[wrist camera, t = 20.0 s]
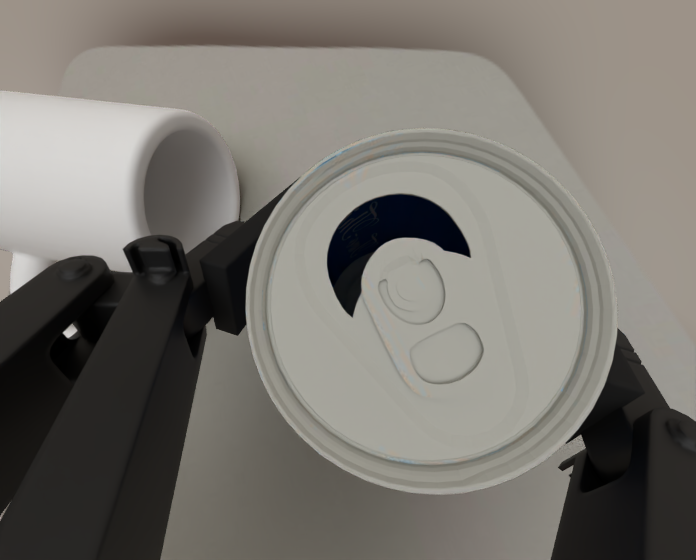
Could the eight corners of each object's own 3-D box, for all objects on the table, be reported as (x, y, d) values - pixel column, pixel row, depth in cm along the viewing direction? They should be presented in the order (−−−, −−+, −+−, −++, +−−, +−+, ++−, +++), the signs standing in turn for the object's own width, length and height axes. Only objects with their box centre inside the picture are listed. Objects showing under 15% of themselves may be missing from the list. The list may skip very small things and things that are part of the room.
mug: (114, 149, 20) (-61, 41, 12) (252, 167, 19) (160, 59, 11) (67, 324, 19) (-161, 333, 11) (210, 355, 17) (73, 390, 10)
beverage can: (412, 233, 17) (502, 35, 5) (469, 336, 16) (755, 405, 4) (313, 284, 17) (163, 215, 5) (363, 388, 16) (323, 606, 4)
